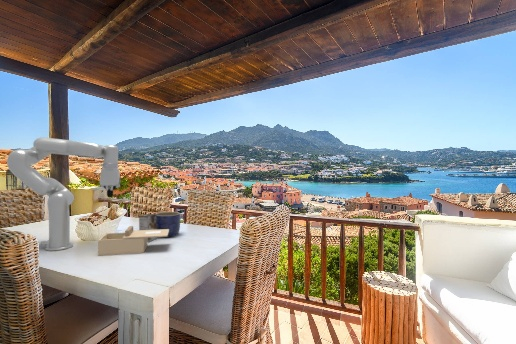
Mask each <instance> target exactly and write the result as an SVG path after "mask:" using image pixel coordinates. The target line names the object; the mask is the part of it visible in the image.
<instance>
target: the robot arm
mask: <svg viewBox="0 0 516 344" xmlns="http://www.w3.org/2000/svg"><path fill="white" fill-rule="evenodd" d="M32 144H33V146H32V147H30V148H29V149H15V150H13V151H11V152H10V153H9V154H8V156H7V159H6V165H7V168H8V170H9V172H10V173H12V174H13V175H14V176H15V178H17V179H19V180H20V181H21V182H22V183H23V184H24V185H26V186H27V187H28V188H29V189H30V190H32V191H33V192H35V194H37V195H38V196H39V195H40V196H48V199H47V203H46V204H47V209H48V211H47V212H48V240H42V241H40V245H41V246H45V249H44V250H46V251H53V252H54V251H55V252H56V251H61V250H68V249H70V248H72V247H73V246H74V243H72V242H71V241H70V240H71V238H70V235H71V234H70V232H71V231H70V227H71V226H70V220H71V217H70V205H72V203H74V201H75V197H74V196H75V195H74V194H73V193H72V192H71V191H70V190H69V188H67V187H65V186H64V185H63V184H62V183H61V182H59V180H57V179H55V178H53V177H46V176H43V175H42V174H41V173H40V172H39V171H38V170H37V169H35V168H34V167H32V165H35V164H37V163H39V162H41V161H43V160H44V159H45V158H47V157H49V156H50V155H52V154H54V155H64V156H83V157H92V158H103V163H100V166H101V167H102V168H101V170H100V173H99V174H100V175H99V184H100V185H99V186H100V188H103V189H104V190H105V191H106V196H107V198H112V197H113V196H114V190H115V189H117V188H121V174H120V169H119V146H117V145H110V144H109V145H101V144H98V143H92V142H86V141H85V142H84V141H75V140H70V139H61V138H52V137H45V136H44V137H43V136H42V137H41V136H40V137H38V138H35V139H34V141H33V143H32Z"/></svg>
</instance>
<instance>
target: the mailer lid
mask: <svg viewBox="0 0 516 344" xmlns="http://www.w3.org/2000/svg"><path fill="white" fill-rule="evenodd" d="M168 232H169V229H160V230H139V229H137V230H134V226H133V225H129V226H128V227H127V228H126V229H125V231H124V233H125V236H124V237H123V239H126V238H147V237H156V238H168V237H167V236H168Z"/></svg>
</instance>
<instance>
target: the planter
mask: <svg viewBox="0 0 516 344" xmlns="http://www.w3.org/2000/svg"><path fill="white" fill-rule="evenodd" d="M155 214H156V230H160V229H169V232H168V236H167V237H166V238H172V237H175V236H177V235H178V234H179V232H180V229H181V213H180V212H178V211H160V212H156V213H155Z"/></svg>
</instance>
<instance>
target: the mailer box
mask: <svg viewBox="0 0 516 344" xmlns="http://www.w3.org/2000/svg"><path fill="white" fill-rule="evenodd" d="M124 236H125V232H110V233H109V232H108V233H107V232H106V233H105V234H104V235H102V237H100V238H99V239H98V240H97V243H98V244H97V256H98V257H99V256H113V255H128V254H144V253H145V251H146V249H147V246H148V243H147V238H126V239H123V237H124Z"/></svg>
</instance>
